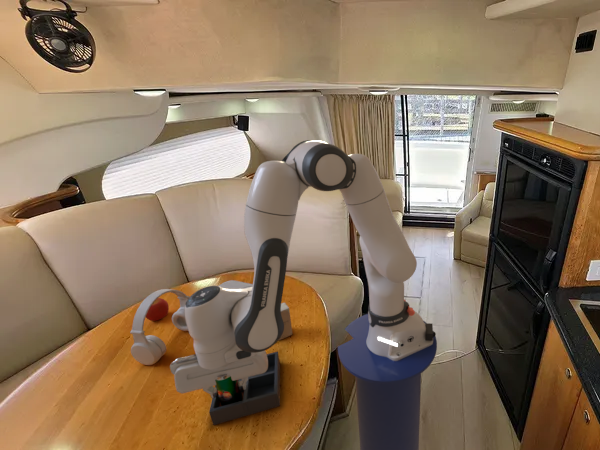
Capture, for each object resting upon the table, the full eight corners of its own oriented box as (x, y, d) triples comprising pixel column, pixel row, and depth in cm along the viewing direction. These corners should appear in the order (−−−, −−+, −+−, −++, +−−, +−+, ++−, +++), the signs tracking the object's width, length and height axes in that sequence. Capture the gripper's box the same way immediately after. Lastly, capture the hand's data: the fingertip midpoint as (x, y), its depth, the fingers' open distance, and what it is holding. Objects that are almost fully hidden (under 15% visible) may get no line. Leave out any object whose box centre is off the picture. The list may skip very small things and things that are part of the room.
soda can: (217, 410, 80) (206, 375, 76) (231, 393, 85) (222, 359, 80) (234, 414, 79) (224, 379, 75) (247, 397, 84) (239, 363, 79)
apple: (158, 325, 112) (152, 307, 109) (139, 323, 113) (133, 305, 110) (176, 312, 119) (170, 295, 116) (158, 310, 120) (152, 293, 117)
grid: (280, 363, 96) (277, 351, 94) (279, 406, 82) (277, 393, 81) (223, 376, 91) (220, 364, 89) (213, 425, 77) (209, 412, 76)
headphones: (158, 367, 94) (139, 315, 87) (134, 365, 95) (112, 312, 88) (205, 324, 113) (192, 278, 106) (184, 322, 114) (169, 276, 107)
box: (278, 341, 105) (273, 313, 101) (274, 334, 108) (269, 307, 104) (293, 334, 108) (289, 307, 104) (288, 327, 111) (284, 301, 107)
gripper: (163, 371, 69) (179, 415, 74) (262, 348, 76) (271, 390, 81) (171, 351, 75) (186, 393, 80) (263, 331, 81) (271, 371, 86)
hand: (229, 391), depth 80 cm, fingers closed on soda can, 5 cm apart
